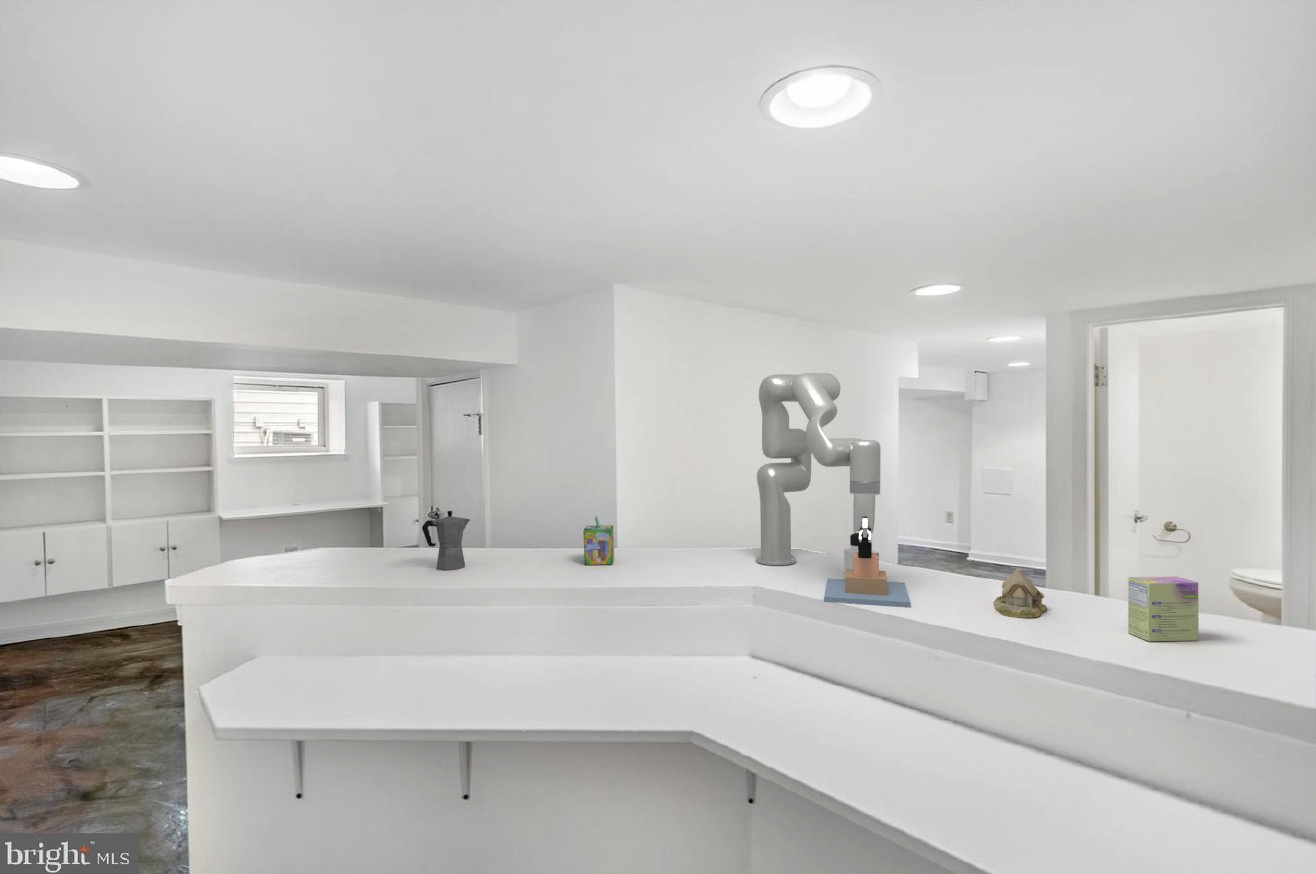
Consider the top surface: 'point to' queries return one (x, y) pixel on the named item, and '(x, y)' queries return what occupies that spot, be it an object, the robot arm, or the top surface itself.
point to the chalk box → (598, 544)
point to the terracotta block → (865, 566)
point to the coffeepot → (448, 541)
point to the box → (1163, 608)
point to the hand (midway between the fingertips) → (864, 554)
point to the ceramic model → (1019, 597)
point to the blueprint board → (888, 600)
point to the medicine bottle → (854, 548)
